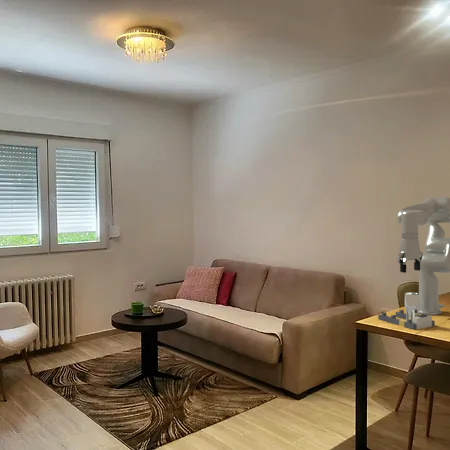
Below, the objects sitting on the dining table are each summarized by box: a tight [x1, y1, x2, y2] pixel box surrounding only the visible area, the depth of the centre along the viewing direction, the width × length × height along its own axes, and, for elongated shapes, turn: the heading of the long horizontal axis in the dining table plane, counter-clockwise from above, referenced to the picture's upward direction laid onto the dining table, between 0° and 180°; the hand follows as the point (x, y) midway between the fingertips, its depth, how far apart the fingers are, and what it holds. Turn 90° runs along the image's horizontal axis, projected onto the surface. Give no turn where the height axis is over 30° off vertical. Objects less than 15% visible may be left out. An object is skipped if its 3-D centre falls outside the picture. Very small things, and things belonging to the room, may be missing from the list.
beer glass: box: [404, 291, 420, 323], centre depth 217 cm, size 7×7×15 cm
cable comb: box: [377, 309, 436, 331], centre depth 220 cm, size 14×22×6 cm, turn 26°
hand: (410, 271), depth 220 cm, fingers open, 9 cm apart
